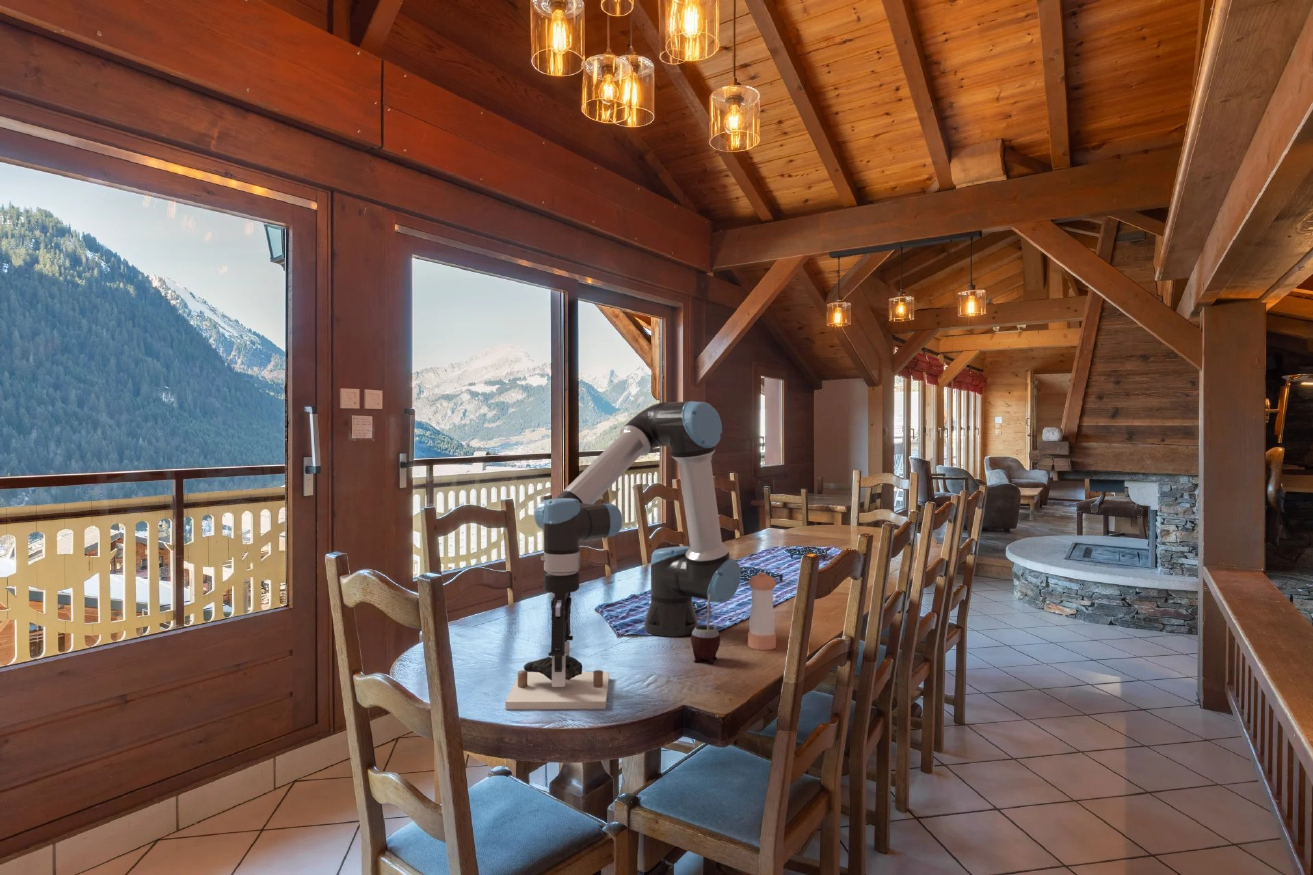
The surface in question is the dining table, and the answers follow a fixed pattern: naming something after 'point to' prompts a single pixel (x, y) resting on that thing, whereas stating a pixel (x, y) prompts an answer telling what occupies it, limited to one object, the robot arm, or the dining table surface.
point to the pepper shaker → (762, 613)
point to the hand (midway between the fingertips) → (560, 678)
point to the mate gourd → (705, 640)
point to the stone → (545, 667)
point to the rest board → (559, 692)
